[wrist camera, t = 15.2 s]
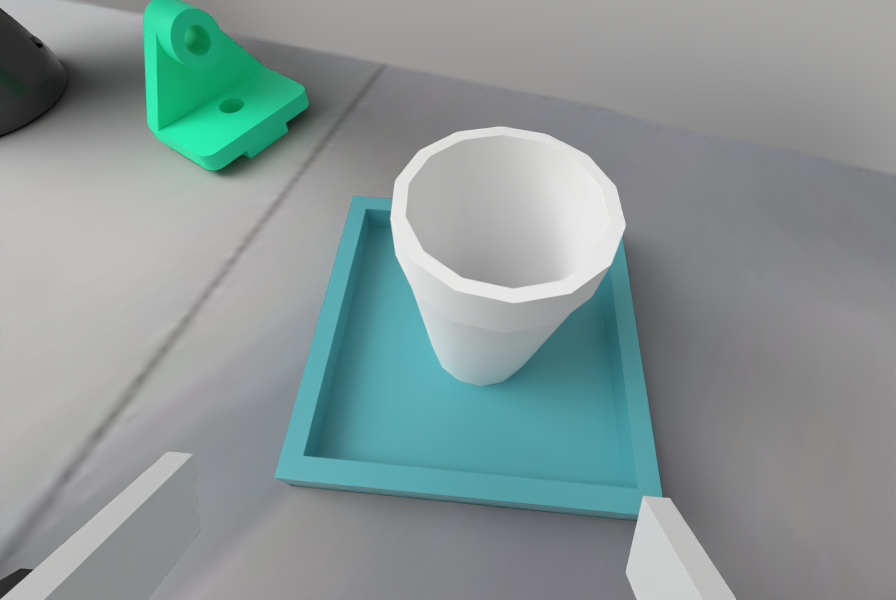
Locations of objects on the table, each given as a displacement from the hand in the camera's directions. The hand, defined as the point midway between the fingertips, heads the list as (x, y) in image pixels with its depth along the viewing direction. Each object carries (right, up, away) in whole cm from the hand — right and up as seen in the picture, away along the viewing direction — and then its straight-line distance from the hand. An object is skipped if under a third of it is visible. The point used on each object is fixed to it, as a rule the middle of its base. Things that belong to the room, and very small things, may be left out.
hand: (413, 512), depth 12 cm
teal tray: (+3, +3, +17) cm, 17 cm away
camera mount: (-19, +22, +28) cm, 41 cm away
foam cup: (+3, +3, +16) cm, 17 cm away
